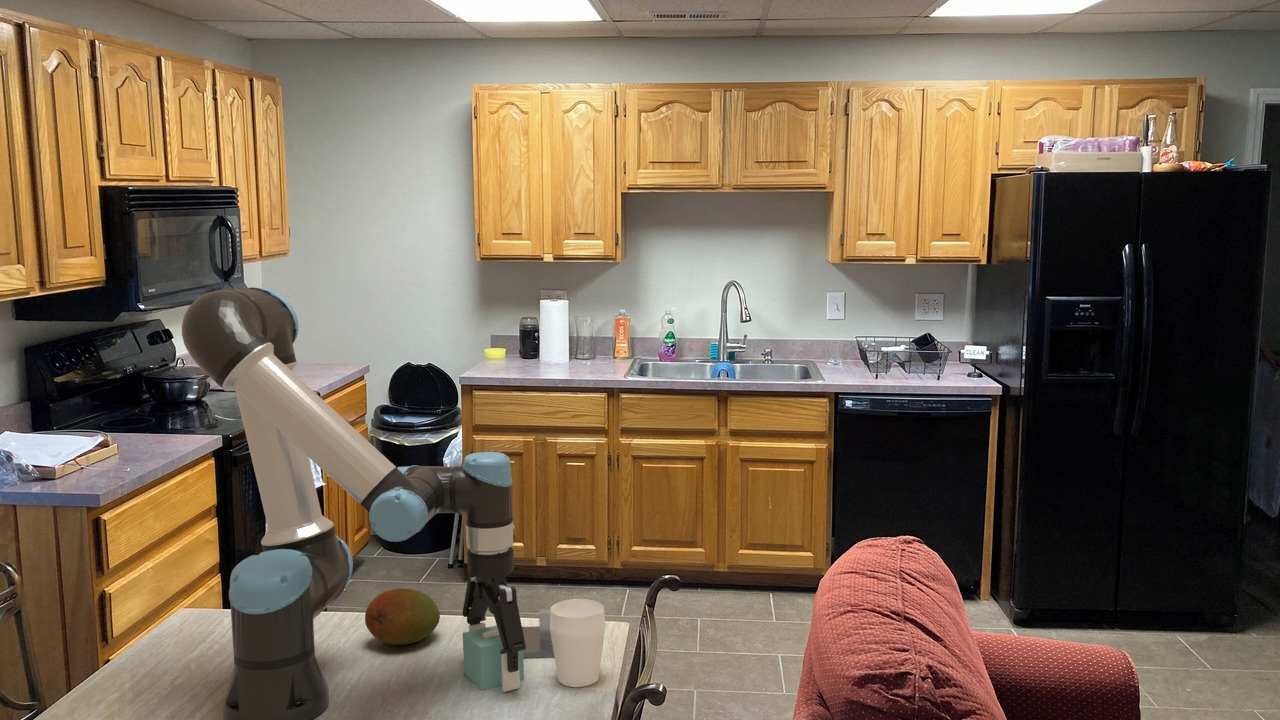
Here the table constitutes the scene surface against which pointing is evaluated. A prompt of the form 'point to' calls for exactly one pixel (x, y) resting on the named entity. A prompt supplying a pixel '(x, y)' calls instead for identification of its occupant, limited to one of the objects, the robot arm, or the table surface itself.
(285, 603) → the robot arm
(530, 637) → the shaft fixture
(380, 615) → the fruit
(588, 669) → the cup
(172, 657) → the table surface
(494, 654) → the teal block
